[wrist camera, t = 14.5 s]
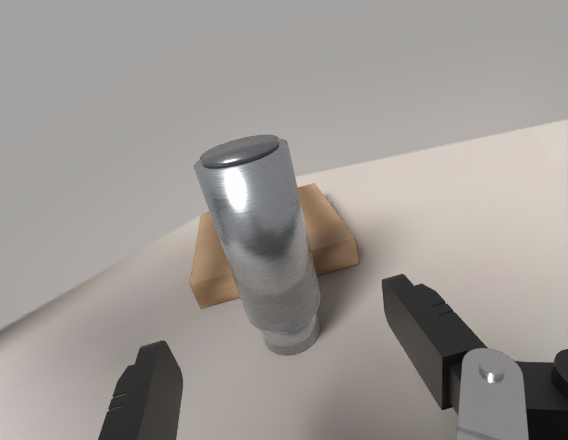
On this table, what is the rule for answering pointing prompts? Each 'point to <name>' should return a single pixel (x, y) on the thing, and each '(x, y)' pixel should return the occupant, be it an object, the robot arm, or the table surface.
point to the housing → (322, 238)
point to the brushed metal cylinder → (264, 237)
